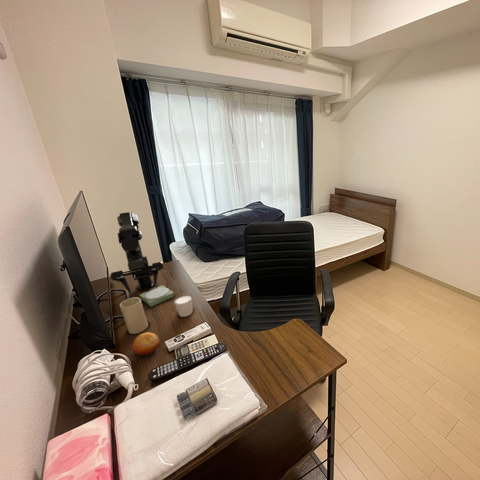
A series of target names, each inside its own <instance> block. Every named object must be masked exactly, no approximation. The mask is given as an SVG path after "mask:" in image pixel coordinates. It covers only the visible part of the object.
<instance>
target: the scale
mask: <svg viewBox="0 0 480 480" xmlns="http://www.w3.org/2000/svg"><path fill="white" fill-rule="evenodd" d="M174 297H175V292H173V290H171V289H170V288H167V287H166V286H165V285H159V286H156V287H154V288H151V289H149V290H147V291H145V292H143V293H139V298H140V299H141V301H143V302H144V303H145V304H147V305H148V306H149V307H150V308H151V307H154V306H156V305H159V304H161V303H163V302H166V301H167V300H169V299H172V298H174Z"/></svg>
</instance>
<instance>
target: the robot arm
mask: <svg viewBox="0 0 480 480" xmlns="http://www.w3.org/2000/svg"><path fill="white" fill-rule="evenodd" d="M116 219H117V223H118V226H119V227H120V228H118V232H117V239H118V243H119V244H120V246H121V248H122V249H123V251H124V252H125V257H126V262H127V269H128V270H126V271H123V270H117V271H113V272H112V271H111V272H110V274H109V276H110V280H112V281H116V282H118V283H119V282H120V283H121V284H122V285H123V286H124V288H125V289H126V290H127V292H128V293H129V294H132V290H131V288H130V285H129V283H128V280H127V278H125V277H128V276H131V275H132V278H133V281H137V283H138V285H137V288H138V289H139V290H141V291H145V290H148V289H150V288H153V287H154V288H156V287H157V284H158V283H157V281H158V276H159V273H161V272H162V270H164V263H163V262H162V261H158V262H153V263H151V265H149V260H148V256H146V255H145V256H144V255H143V252H142V247H141V244H140V241H142V239H143V236H142V232H141V231H140V228H139V227H140V226H139V224H140V221H139V217H138V215H137V214H135V213H133V212H130V211H128V212H127V211H126V212H121V213H119V215H118V216H117V217H116ZM151 277H152V278H153V282H152V278H151Z"/></svg>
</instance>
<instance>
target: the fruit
mask: <svg viewBox="0 0 480 480" xmlns="http://www.w3.org/2000/svg"><path fill="white" fill-rule="evenodd" d="M159 345H160V339H159V337H158V335H157V334H156V333H153V332H151V331H149V332H148V331H147V332H143V333H142V332H141V333H139V334H138V335H137V336H136V337H135V339H134V340H133V342H132V343H131V348H132V350H133V352H134V353H135V354H134V355H139V356H149V355H151V354H152V353H153V352H154V351H155V350H156V349H157V348H158V346H159Z"/></svg>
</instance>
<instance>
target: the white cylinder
mask: <svg viewBox="0 0 480 480" xmlns="http://www.w3.org/2000/svg"><path fill="white" fill-rule="evenodd" d="M174 306H175V308H176V311H177V314H178V316H179V317H180V318H181V317H182V318H185V317H189V316H191V315H192V314H193V312H194V310H193V301H192V297H191V296H190V295H183V296H180V297H178V298H176V299H175V300H174Z"/></svg>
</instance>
